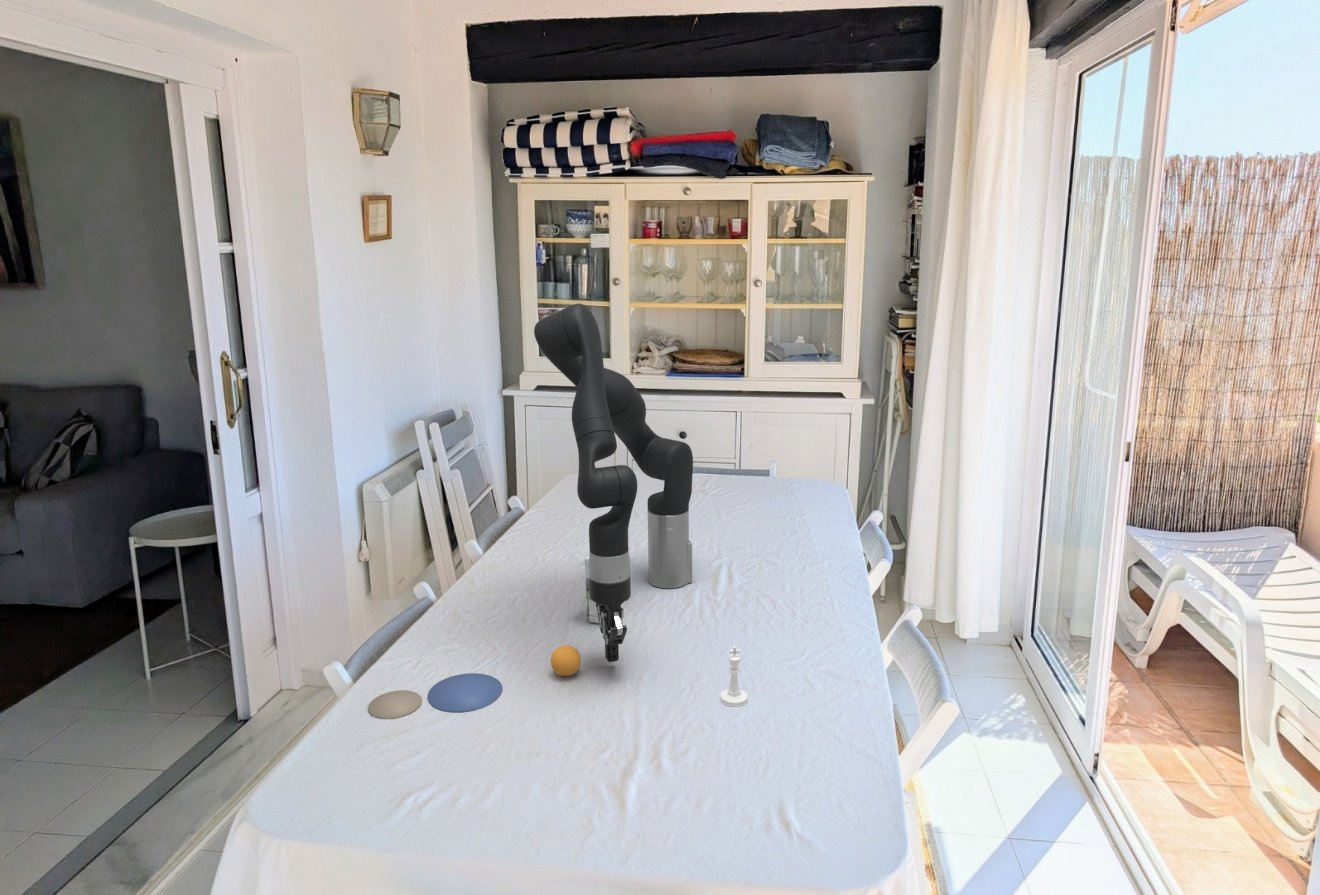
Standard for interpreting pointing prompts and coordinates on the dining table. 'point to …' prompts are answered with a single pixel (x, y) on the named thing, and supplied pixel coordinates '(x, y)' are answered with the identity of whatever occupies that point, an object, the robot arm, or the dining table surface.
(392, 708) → the disc
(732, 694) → the chess piece
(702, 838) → the dining table surface
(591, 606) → the syrup box
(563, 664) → the ball
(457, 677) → the disc
